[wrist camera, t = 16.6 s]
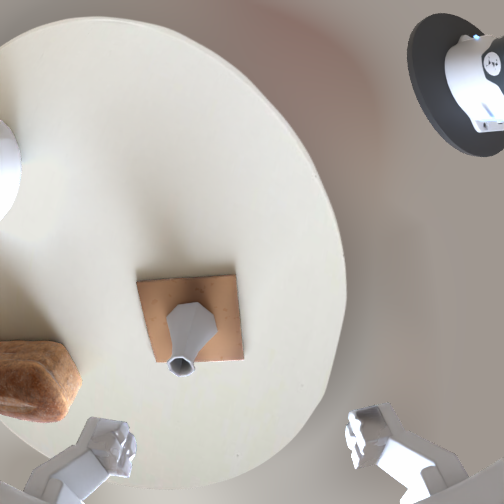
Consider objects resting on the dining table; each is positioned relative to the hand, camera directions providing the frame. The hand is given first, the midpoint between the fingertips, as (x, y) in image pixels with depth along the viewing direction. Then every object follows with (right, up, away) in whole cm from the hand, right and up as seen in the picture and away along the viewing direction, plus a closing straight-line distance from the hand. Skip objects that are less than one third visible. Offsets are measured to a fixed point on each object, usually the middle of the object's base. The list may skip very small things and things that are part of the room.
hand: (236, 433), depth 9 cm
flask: (-8, -4, +33) cm, 34 cm away
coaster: (-8, -4, +33) cm, 35 cm away
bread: (-43, -15, +36) cm, 58 cm away
